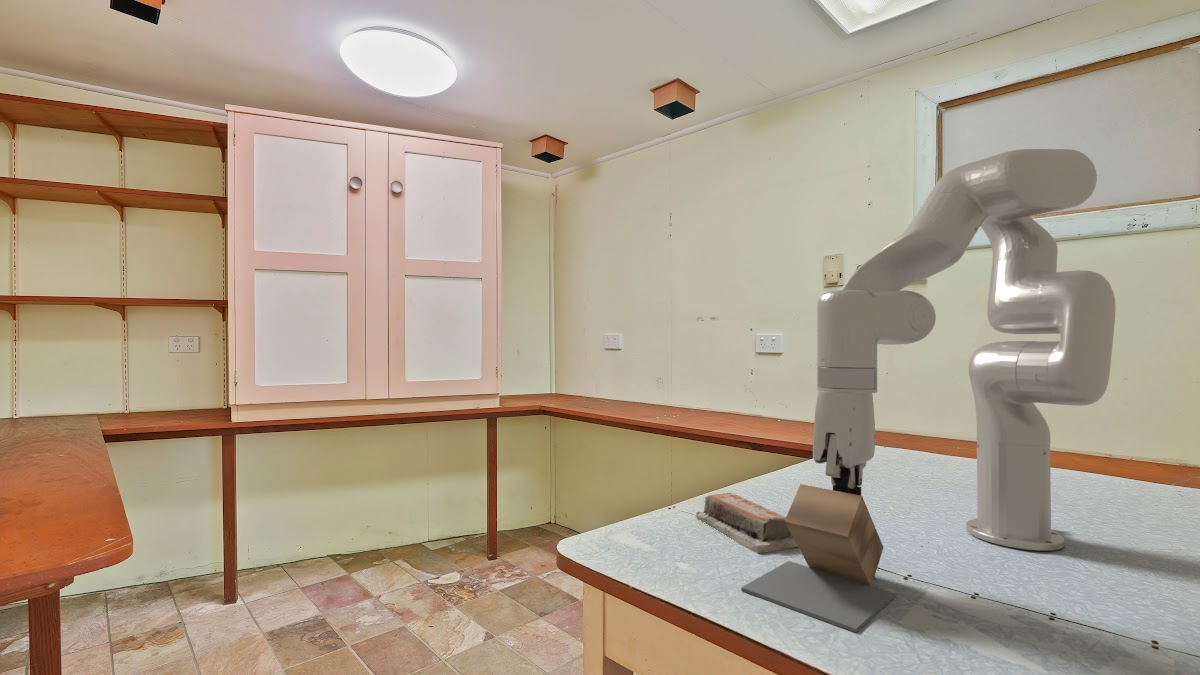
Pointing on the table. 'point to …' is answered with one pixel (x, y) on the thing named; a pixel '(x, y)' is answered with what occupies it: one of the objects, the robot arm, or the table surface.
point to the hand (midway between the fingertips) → (846, 514)
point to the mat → (821, 595)
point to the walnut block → (835, 533)
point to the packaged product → (747, 523)
